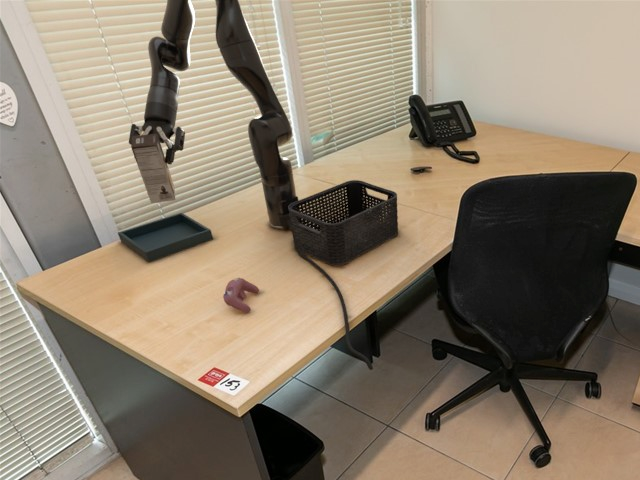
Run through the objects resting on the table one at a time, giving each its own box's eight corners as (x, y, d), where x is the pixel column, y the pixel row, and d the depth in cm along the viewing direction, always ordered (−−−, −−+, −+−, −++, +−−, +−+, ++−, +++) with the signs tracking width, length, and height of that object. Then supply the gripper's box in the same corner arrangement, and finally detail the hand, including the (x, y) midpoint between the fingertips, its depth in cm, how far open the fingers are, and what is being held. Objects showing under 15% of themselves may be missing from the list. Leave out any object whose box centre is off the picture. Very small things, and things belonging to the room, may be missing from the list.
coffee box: (150, 190, 149) (131, 135, 139) (175, 187, 152) (157, 132, 142) (150, 204, 143) (130, 146, 133) (176, 200, 145) (158, 144, 135)
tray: (213, 239, 153) (210, 229, 151) (149, 262, 141) (145, 252, 139) (184, 221, 161) (181, 212, 159) (121, 242, 149) (117, 232, 147)
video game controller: (246, 296, 133) (228, 276, 129) (261, 289, 132) (243, 269, 128) (236, 319, 125) (216, 298, 121) (251, 312, 124) (232, 291, 120)
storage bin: (357, 215, 170) (354, 176, 163) (403, 233, 162) (402, 192, 155) (289, 249, 151) (282, 206, 143) (337, 270, 143) (332, 226, 135)
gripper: (127, 98, 142) (118, 155, 139) (179, 101, 142) (171, 158, 140) (144, 113, 149) (136, 166, 147) (194, 116, 149) (186, 169, 147)
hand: (153, 162), depth 143 cm, fingers closed on coffee box, 7 cm apart
